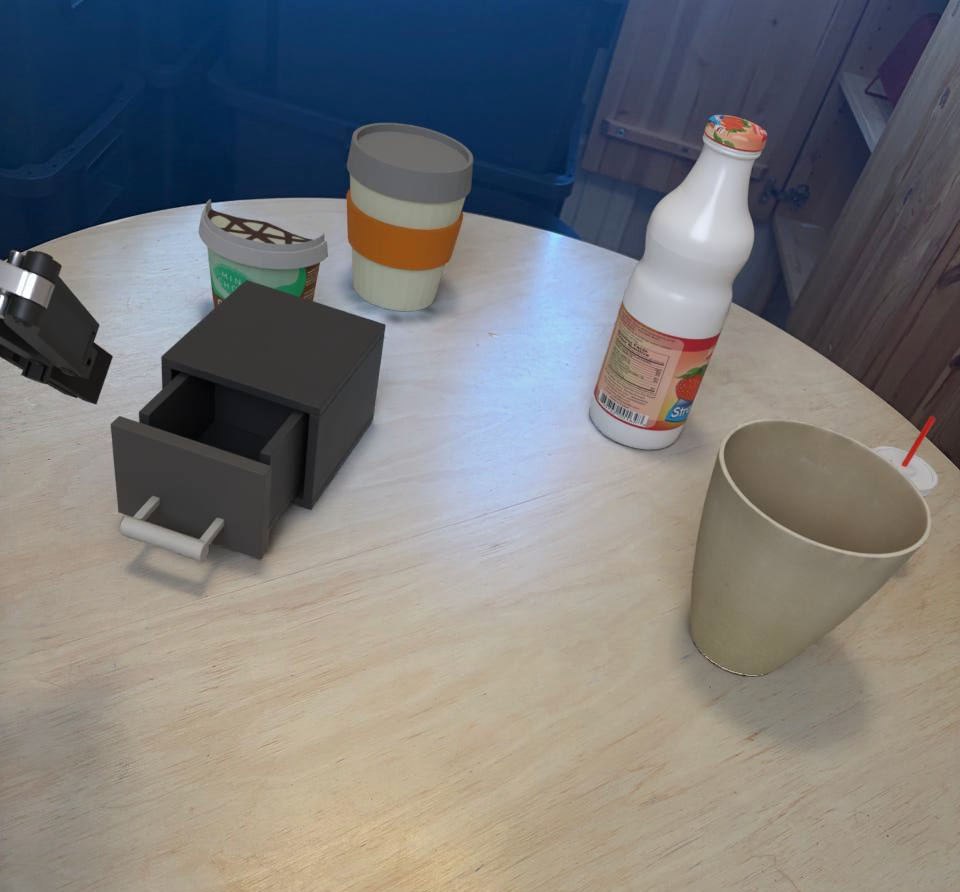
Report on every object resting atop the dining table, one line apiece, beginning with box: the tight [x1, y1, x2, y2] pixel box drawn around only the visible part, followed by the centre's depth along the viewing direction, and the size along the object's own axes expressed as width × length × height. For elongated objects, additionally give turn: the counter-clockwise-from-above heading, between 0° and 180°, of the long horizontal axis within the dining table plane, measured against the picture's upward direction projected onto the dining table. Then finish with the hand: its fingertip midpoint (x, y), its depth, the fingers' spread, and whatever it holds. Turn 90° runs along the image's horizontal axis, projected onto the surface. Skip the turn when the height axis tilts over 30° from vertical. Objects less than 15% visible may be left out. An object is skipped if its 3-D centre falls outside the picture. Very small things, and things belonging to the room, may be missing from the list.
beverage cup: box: [872, 415, 938, 498], centre depth 85 cm, size 6×6×14 cm
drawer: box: [110, 372, 310, 562], centre depth 73 cm, size 18×11×8 cm, turn 165°
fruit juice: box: [589, 114, 768, 451], centre depth 87 cm, size 9×9×28 cm
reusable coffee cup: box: [346, 122, 474, 312], centre depth 102 cm, size 13×13×15 cm
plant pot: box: [690, 417, 933, 675], centre depth 72 cm, size 15×15×16 cm
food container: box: [198, 199, 329, 309], centre depth 92 cm, size 12×6×10 cm, turn 76°
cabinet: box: [160, 280, 387, 511], centre depth 81 cm, size 15×13×10 cm
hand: (88, 374), depth 52 cm, fingers closed
